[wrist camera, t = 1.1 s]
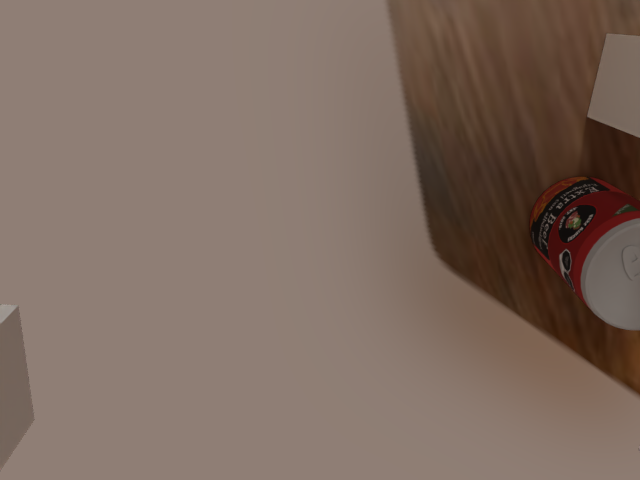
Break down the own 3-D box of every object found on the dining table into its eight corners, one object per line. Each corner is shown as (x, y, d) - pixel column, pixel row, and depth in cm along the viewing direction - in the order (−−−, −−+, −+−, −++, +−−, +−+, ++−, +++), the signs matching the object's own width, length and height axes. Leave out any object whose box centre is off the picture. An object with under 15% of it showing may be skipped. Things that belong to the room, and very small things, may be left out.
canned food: (573, 154, 46) (649, 196, 35) (642, 211, 48) (733, 267, 37) (505, 228, 48) (558, 288, 38) (573, 280, 50) (642, 351, 39)
